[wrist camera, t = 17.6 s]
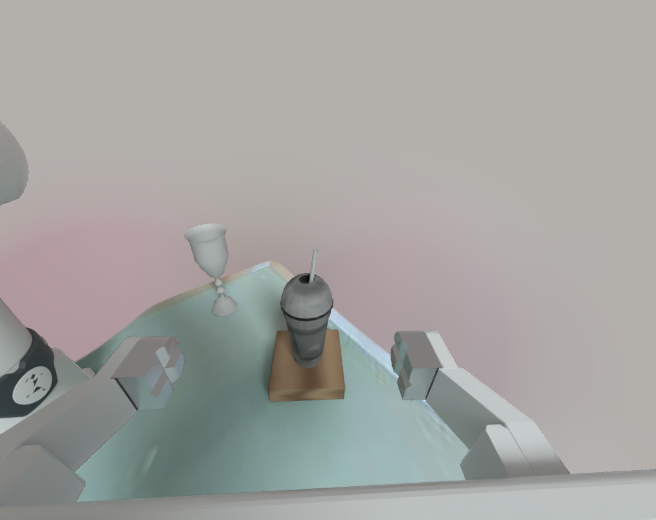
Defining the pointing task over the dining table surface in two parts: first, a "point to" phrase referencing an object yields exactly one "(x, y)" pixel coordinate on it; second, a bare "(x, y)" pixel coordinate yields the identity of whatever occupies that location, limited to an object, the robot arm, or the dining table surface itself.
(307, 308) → the beverage cup
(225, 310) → the chalice
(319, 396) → the walnut plinth
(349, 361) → the dining table surface
